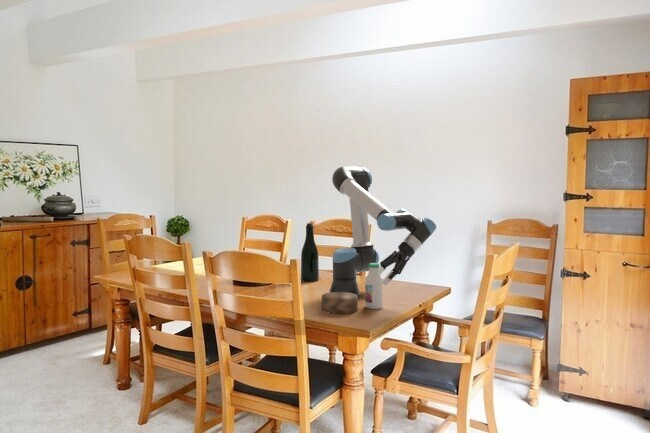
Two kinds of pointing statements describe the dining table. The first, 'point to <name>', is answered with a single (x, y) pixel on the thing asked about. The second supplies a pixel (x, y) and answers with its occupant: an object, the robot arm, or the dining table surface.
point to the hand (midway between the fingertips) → (378, 280)
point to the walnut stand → (339, 302)
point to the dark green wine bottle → (309, 257)
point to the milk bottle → (373, 288)
